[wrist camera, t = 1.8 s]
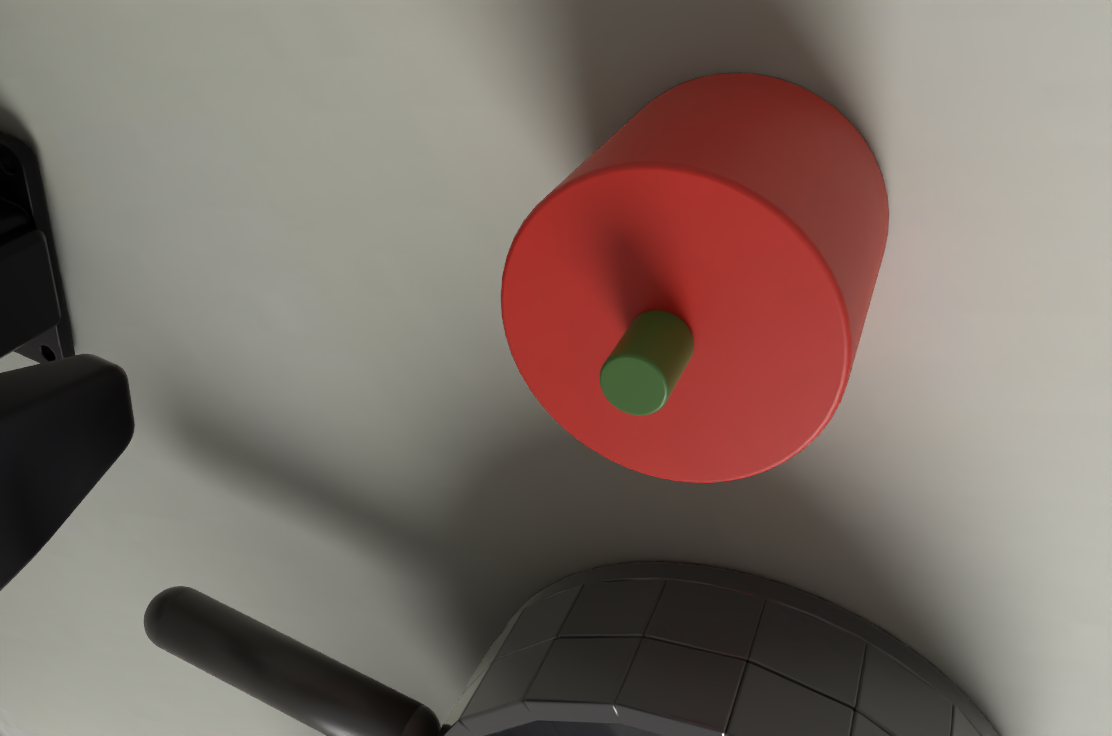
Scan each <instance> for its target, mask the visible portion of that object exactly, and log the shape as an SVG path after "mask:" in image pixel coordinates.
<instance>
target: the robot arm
mask: <svg viewBox="0 0 1112 736" xmlns="http://www.w3.org/2000/svg"><path fill="white" fill-rule="evenodd" d="M12 351H14V352H17V353H19V354H21V355H23V356H25V357H28V358H30V359H32V360H34V361H36V362H39V363H41V364H37V365H33V366H28V367H24V368H20V369H16V370H11V371H7V372H3V373H0V591H1V590H2V589H3V588H4V587H5V586H6V585H7V584H8V583H9V582H10V581H11V580H12V579H13V578H14V577H15V576H16V575H17V574H18V573H19V572H20V571H21V570H22V569H23V568H24V567H25V566H26V565H27V564H28V563H29V562H30V561H31V560H32V559H33V558H34V556H35V555H36V554H37V553H38V552H39V551H40V550H41V548H42V547H43V546H44V545H45V544H46V543H47V542H48V541H49V540H50V538H51V537H52V536H53V535H54V534H55V532H56V531H57V530H58V529H59V528H60V526H61V525H62V524H63V523H64V522H65V520H66V519H67V518H68V517H69V516H70V515H71V513H72V512H73V511H74V510H75V509H76V507H77V506H78V505H79V504H80V503H81V501H82V500H83V499H84V498H85V497H86V495H87V494H88V493H89V492H90V491H91V490H92V488H93V487H94V486H95V485H96V484H97V482H98V481H99V480H100V479H101V478H102V476H103V475H104V474H105V473H106V472H107V470H108V469H109V468H110V467H111V466H112V464H113V463H114V462H115V461H116V460H117V459H118V457H119V456H120V455H121V454H122V453H123V451H124V450H125V449H126V447H127V446H128V444H129V443H130V441H131V439H132V436H133V433H134V427H135V424H134V416H133V410H132V403H131V396H130V390H129V383H128V378H127V375H126V373H125V371H124V370H123V369H122V368H121V367H120V366H118V365H116V364H114V363H111V362H109V361H107V360H105V359H102V358H100V357H98V356H95V355H91V354H81V355H76V356H75V351H74V346H73V341H72V336H71V331H70V326H69V321H68V315H67V310H66V305H65V300H64V295H63V290H62V284H61V279H60V274H59V269H58V264H57V259H56V253H55V248H54V243H53V238H52V233H51V228H50V222H49V217H48V212H47V207H46V202H45V197H44V192H43V186H42V181H41V176H40V171H39V166H38V162H37V159H36V156H35V155H34V153H33V152H32V150H31V148H30V147H29V146H28V145H27V144H26V143H25V142H24V141H22V140H20V139H19V138H17V137H14V136H12V135H9V134H6V133H4V132H1V131H0V358H2V357H4V356H6V355H7V354H9V353H11V352H12Z"/></svg>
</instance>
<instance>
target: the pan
mask: <svg viewBox="0 0 1112 736" xmlns="http://www.w3.org/2000/svg"><path fill="white" fill-rule="evenodd" d="M437 736H998V735H997V733H996V732H995V730H994V729H993V727H992V726H991V724H990V723H989V721H988V720H987V719H986V718H985V717H984V716H983V714H982V713H981V712H980V711H979V710H978V709H977V708H976V706H975V705H974V704H973V703H972V702H971V701H970V700H969V698H968V697H967V696H966V695H965V694H964V693H963V692H962V691H961V690H960V689H959V688H958V687H957V686H955V685H954V684H953V683H952V682H951V681H950V680H949V679H948V678H947V677H945V676H944V675H943V674H942V673H941V672H940V671H939V670H938V669H937V668H936V667H934V666H933V665H932V664H931V663H929V662H928V661H926V660H925V659H924V658H922V657H921V656H920V655H918V654H917V653H916V652H914V651H913V650H911V649H910V648H909V647H907V646H906V645H905V644H903V643H902V642H901V641H899V640H898V639H896V638H894V637H893V636H891V635H889V634H888V633H886V632H884V631H883V630H881V629H879V628H877V627H876V626H874V625H872V624H871V623H869V622H867V621H866V620H864V619H862V618H861V617H859V616H856V615H854V614H852V613H850V612H848V611H846V610H844V609H842V608H840V607H838V606H836V605H834V604H831V603H829V602H827V601H825V600H823V599H821V598H818V597H816V596H813V595H810V594H808V593H805V592H802V591H800V590H797V589H794V588H792V587H789V586H786V585H784V584H781V583H778V582H774V581H771V580H767V579H763V578H760V577H756V576H752V575H749V574H745V573H742V572H737V571H732V570H726V569H720V568H715V567H709V566H704V565H696V564H683V563H670V562H643V563H624V564H618V565H611V566H605V567H598V568H594V569H591V570H587V571H584V572H581V573H577V574H574V575H571V576H568V577H566V578H564V579H562V580H560V581H558V582H555V583H553V584H551V585H549V586H547V587H545V588H544V589H542V590H541V591H540V592H538V593H537V594H536V595H534V596H533V597H531V598H530V599H529V600H527V601H526V602H525V603H524V604H523V605H522V606H521V607H520V609H519V610H518V611H517V612H516V613H515V614H514V615H513V616H512V617H511V619H510V621H509V622H508V624H507V626H506V627H505V629H504V631H503V632H502V633H501V635H500V636H499V637H498V638H497V639H496V640H495V641H494V643H493V644H492V645H491V646H490V648H489V650H488V651H487V653H486V655H485V656H484V658H483V660H482V661H481V663H480V665H479V666H478V668H477V670H476V671H475V673H474V675H473V676H472V678H471V680H470V681H469V683H468V685H467V686H466V688H465V690H464V691H463V693H462V695H461V697H460V698H459V700H458V701H457V703H456V705H455V706H454V708H453V710H452V711H451V713H450V715H449V716H448V718H447V720H446V721H445V723H444V725H443V726H442V728H441V730H440V731H439V733H438V735H437Z"/></svg>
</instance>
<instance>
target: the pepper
mask: <svg viewBox="0 0 1112 736" xmlns="http://www.w3.org/2000/svg"><path fill="white" fill-rule="evenodd" d="M888 225H889V208H888V199H887V192H886V188H885V184H884V180H883V176H882V174H881V171H880V169H879V166H878V164H877V162H876V159H875V157H874V155H873V153H872V152H871V150H870V148H869V147H868V145H867V143H866V142H865V140H864V138H863V137H862V136H861V135H860V133H859V132H858V131H857V130H856V128H855V127H854V126H853V125H852V123H851V122H849V121H848V120H847V119H846V118H845V117H844V116H843V115H842V114H841V113H840V112H839V111H838V110H837V109H836V108H834V107H833V106H832V105H830V104H829V103H827V102H826V101H825V100H823V99H822V98H820V97H819V96H817V95H815V94H813V93H811V92H810V91H808V90H806V89H804V88H802V87H800V86H797V85H795V84H792V83H789V82H787V81H784V80H781V79H777V78H773V77H768V76H764V75H758V74H747V73H727V74H716V75H711V76H705V77H700V78H697V79H694V80H691V81H688V82H685V83H682V84H680V85H678V86H676V87H674V88H672V89H670V90H668V91H665V92H664V93H662V94H661V95H659V96H658V97H656V98H655V99H654V100H652V101H651V102H649V103H648V104H647V105H646V106H645V107H644V108H643V109H642V110H640V111H639V112H638V113H637V114H636V115H635V116H634V117H633V118H632V119H630V120H629V121H628V122H627V123H626V124H625V125H624V126H623V127H622V128H621V129H620V130H618V131H617V132H616V133H615V134H614V135H613V136H612V137H611V138H610V139H609V140H608V141H606V142H605V143H604V144H603V145H602V146H601V147H600V148H599V149H598V150H597V151H595V152H594V153H593V154H592V155H591V156H590V157H589V158H588V159H587V160H586V161H585V162H583V163H582V164H581V165H580V166H579V167H578V168H577V169H576V170H575V171H574V172H572V173H571V174H570V175H569V176H568V177H567V178H566V179H565V180H564V181H563V182H562V183H560V184H559V185H558V186H557V187H556V188H555V189H554V190H553V191H552V192H551V193H549V194H548V195H547V196H546V197H545V198H544V199H543V200H542V201H541V202H540V203H539V204H537V205H536V207H535V208H534V209H533V210H532V211H531V213H530V214H529V215H528V216H527V218H526V219H525V220H524V221H523V223H522V225H521V227H520V228H519V230H518V232H517V234H516V235H515V237H514V239H513V242H512V244H511V247H510V249H509V252H508V255H507V258H506V262H505V267H504V271H503V276H502V288H501V309H502V319H503V324H504V330H505V335H506V338H507V341H508V344H509V348H510V351H511V354H512V356H513V358H514V361H515V363H516V365H517V367H518V369H519V372H520V373H521V375H522V377H523V378H524V380H525V382H526V384H527V385H528V387H529V389H530V390H531V392H532V393H533V394H534V396H535V397H536V398H537V400H538V401H539V402H540V404H541V405H542V406H543V407H544V408H545V409H546V411H547V412H548V413H549V414H550V415H551V416H552V417H553V418H554V419H555V420H556V421H557V422H558V423H559V424H560V425H561V426H562V427H563V428H564V429H566V430H567V431H568V432H569V433H570V434H571V435H572V436H574V437H575V438H576V439H578V440H579V441H580V442H582V443H583V444H585V445H586V446H587V447H589V448H590V449H592V450H594V451H595V452H597V453H599V454H600V455H602V456H604V457H605V458H607V459H609V460H612V461H614V462H616V463H618V464H620V465H622V466H624V467H627V468H629V469H632V470H635V471H638V472H641V473H643V474H647V475H651V476H655V477H659V478H663V479H668V480H675V481H682V482H696V483H712V482H725V481H731V480H736V479H741V478H746V477H750V476H753V475H756V474H759V473H762V472H765V471H767V470H769V469H771V468H773V467H776V466H778V465H780V464H782V463H784V462H785V461H787V460H789V459H790V458H791V457H793V456H794V455H796V454H797V453H799V452H800V451H802V450H803V449H804V448H805V447H806V446H808V445H809V444H810V443H811V442H812V441H813V440H814V439H815V438H816V437H817V436H818V435H819V434H820V433H821V431H822V430H823V429H824V428H825V426H826V425H827V424H828V423H829V421H830V420H831V418H832V417H833V415H834V413H835V411H836V409H837V408H838V406H839V404H840V402H841V400H842V397H843V394H844V391H845V389H846V386H847V383H848V380H849V376H850V373H851V369H852V365H853V362H854V358H855V355H856V351H857V347H858V344H859V340H860V337H861V333H862V330H863V326H864V322H865V319H866V315H867V312H868V308H869V305H870V301H871V297H872V294H873V290H874V287H875V283H876V280H877V276H878V272H879V269H880V265H881V262H882V258H883V255H884V251H885V246H886V241H887V236H888Z"/></svg>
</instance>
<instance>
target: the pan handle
mask: <svg viewBox="0 0 1112 736" xmlns="http://www.w3.org/2000/svg"><path fill="white" fill-rule="evenodd" d="M144 628H145V631H146V634H147V636H148V638H149V639H150V640H151V641H152V642H153V643H154V644H155V645H156V646H158V647H160V648H162V649H163V650H165V651H167V652H169V653H171V654H173V655H175V656H177V657H179V658H181V659H182V660H184V661H186V662H188V663H190V664H192V665H194V666H196V667H198V668H200V669H201V670H203V671H205V672H207V673H209V674H211V675H213V676H215V677H217V678H219V679H220V680H222V681H224V682H226V683H228V684H230V685H232V686H234V687H236V688H238V689H239V690H241V691H243V692H245V693H247V694H249V695H251V696H253V697H255V698H257V699H258V700H260V701H262V702H264V703H266V704H268V705H270V706H272V707H274V708H276V709H277V710H279V711H281V712H283V713H285V714H287V715H289V716H291V717H293V718H295V719H296V720H298V721H300V722H302V723H304V724H306V725H308V726H310V727H312V728H314V729H315V730H317V731H319V732H321V733H323V734H325V735H327V736H437V735H438V733H439V731H440V730H441V726H440V723H439V720H438V718H437V717H436V715H435V713H434V712H433V711H432V710H431V709H429V708H428V707H426V706H425V705H424V704H422V703H420V702H418V701H416V700H414V699H412V698H410V697H408V696H406V695H404V694H402V693H400V692H398V691H396V690H394V689H392V688H390V687H388V686H386V685H384V684H382V683H380V682H378V681H376V680H374V679H372V678H370V677H368V676H366V675H364V674H362V673H360V672H358V671H356V670H354V669H352V668H350V667H348V666H346V665H344V664H342V663H340V662H338V661H336V660H334V659H332V658H330V657H328V656H326V655H324V654H322V653H320V652H318V651H316V650H314V649H312V648H310V647H308V646H306V645H304V644H302V643H300V642H298V641H296V640H294V639H292V638H290V637H288V636H287V635H285V634H283V633H281V632H279V631H277V630H275V629H273V628H271V627H269V626H267V625H265V624H263V623H261V622H259V621H257V620H255V619H253V618H251V617H249V616H247V615H245V614H243V613H241V612H239V611H237V610H235V609H233V608H231V607H229V606H227V605H225V604H223V603H221V602H219V601H217V600H215V599H213V598H211V597H209V596H207V595H205V594H203V593H201V592H199V591H197V590H195V589H192V588H190V587H183V586H178V587H172V588H169V589H166V590H164V591H162V592H161V593H159V594H158V595H156V596H155V597H154V598H153V600H152V601H151V602H150V604H149V605H148V607H147V609H146V612H145V615H144Z"/></svg>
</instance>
